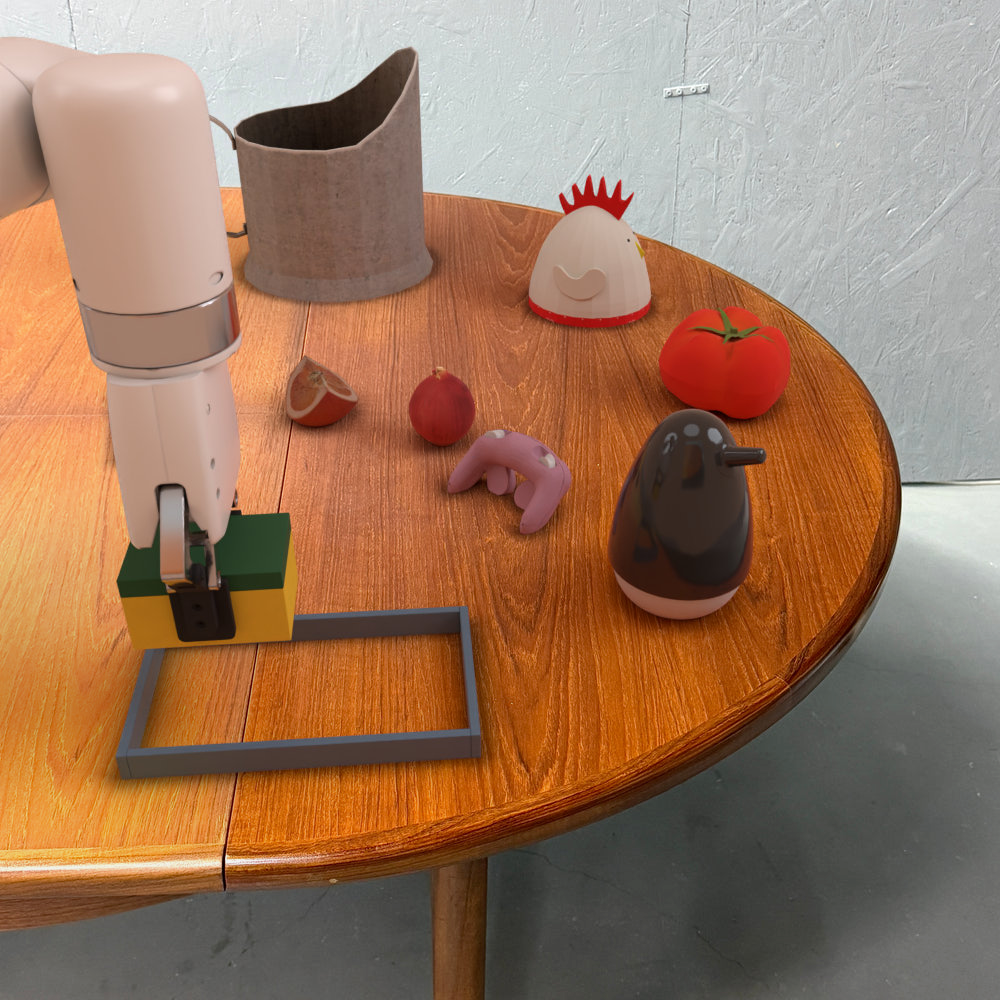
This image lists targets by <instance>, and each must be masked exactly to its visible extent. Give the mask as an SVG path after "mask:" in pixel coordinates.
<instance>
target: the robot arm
mask: <svg viewBox="0 0 1000 1000" xmlns="http://www.w3.org/2000/svg"><path fill="white" fill-rule="evenodd" d="M209 115H210V112H209V106H208V102H207V96H206V92H205V88H204V85H203V83H202V81H201V79H200V77H199V76H198V74H197V73H196V72H195V70H194V69H193V68H192V67H191V66H190V65H189V64H187V63H185V62H183V61H182V60H180V59H179V58H176V57H175V58H174V57H171V56H168V55H164V54H160V53H159V54H158V53H148V52H112V53H101V54H95V53H91V52H86V51H83V50H79V49H75V48H72V47H68V46H65V45H61V44H58V43H57V44H56V43H53V42H49V41H47V40H46V41H45V40H41V39H37V38H33V37H27V36H0V221H2V220H4V219H5V218H7V217H10V216H12V215H14V214H16V213H18V212H21V211H22V210H25V209H28V208H31V207H34V206H37V205H40V204H44V203H45V202H48V201H51V200H53V202H54V206H55V211H56V215H57V219H58V223H59V228H60V233H61V236H62V240H63V244H64V245H63V246H64V249H65V253H66V257H67V262H68V267H69V270H70V274H71V279H72V283H73V287H74V293H75V297H76V301H77V305H78V309H79V313H80V317H81V321H82V326H83V330H84V335H85V338H86V343H87V347H88V351H89V355H90V359H91V362H92V364H93V365H94V366H95V367H96V368H98V369H99V370H100V371H103V372H104V373H106V378H105V380H106V398H107V400H106V401H107V411H108V419H109V427H110V428H109V429H110V435H111V437H110V438H111V442H112V449H113V456H114V462H115V467H116V474H117V478H118V484H119V490H120V497H121V501H122V507H123V513H124V517H125V522H126V528H127V533H128V538H129V542H130V541H131V543H132V544H133V545H134V546H135V547H136V548H137V549H144V548H149V547H152V544H153V541H154V538H155V534H156V531H157V528H158V525H159V524H160V575H161V580H162V582H163V583H165V584H166V590H167V592H168V595H169V599H170V604H171V608H172V613H173V618H174V622H175V627H176V631H177V636H178V639H179V640H180V641H182V642H198V641H214V640H230V639H233V638H234V637H235V634H236V624H235V618H234V613H233V607H232V602H231V596H230V591H229V585H228V580H227V578H221V573H220V562H219V551H218V541H219V540H220V539H221V538H222V537H223V536H224V534H225V532H226V529H227V525H228V521H229V516H230V515H243V514H242V513H243V512H242V509H237V508H238V506H239V495H238V494H239V493H238V489H237V483H238V479H239V475H240V467H241V456H242V455H241V439H240V427H239V421H238V414H237V408H236V407H237V406H236V402H235V396H234V390H233V384H232V378H231V373H230V367H229V363H228V359H230V358H231V357H232V356H233V355H234V354H236V353H237V351H238V350H239V349H240V348H241V346H242V342H243V335H242V327H241V322H240V315H239V309H238V308H239V307H238V302H237V295H236V287H235V281H234V276H233V268H232V262H231V255H230V248H229V241H228V240H229V239H228V237H227V233H226V231H227V227H226V221H225V213H224V206H223V200H222V199H223V198H222V194H221V193H222V192H221V187H220V178H219V173H218V166H217V161H216V160H217V159H216V153H215V146H214V145H215V144H214V140H213V139H214V138H213V132H212V125H211V121H210V118H209ZM189 523H196V524H197V525H198V526H199V528H200V529H201V530H205V531H198V532H189ZM198 546H204V551H205V562H206V567H205V566H204V565H202V564H201V563H193V561H192V560H191V558H190V548H189V547H198Z"/></svg>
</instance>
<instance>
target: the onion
mask: <svg viewBox="0 0 1000 1000" xmlns="http://www.w3.org/2000/svg"><path fill="white" fill-rule="evenodd" d="M476 410H477V409H476V402H475V400H474V397H473V395H472V392H471V390H470V388H469V387H468V386H467V384H466V383H465V382H464V381H463V380H462V379H460V378H459V377H457V376H456V375H454V374H452V373H450V372H449V371H448V370H447V369H446V368H444V367H443V366H436V367H435V368H433V369H431V375H429V376H427V377H425V378H424V379H423V380H422V381H421V382H419V383H418V385H417V386H416V387H415V389H414V391H413V393H412V395H411V396H410V400H409V403H408V417H409V420H410V423H411V426H412V427H413V430H415V432H416V433H417V434H418V435H420V437H422V438H423V439H424V440H426V441H428V442H430V443H432V444H433V445H436V446H438V447H449V446H452V445H453V444H455V443H456V442H458V441H460V440H462V439H463V438H464V437H465V436H466V435H467V434H468V433H469V431H470V429H471V427H472V426H473V423H474V421H475V417H476Z"/></svg>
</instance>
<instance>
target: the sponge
mask: <svg viewBox="0 0 1000 1000" xmlns="http://www.w3.org/2000/svg"><path fill="white" fill-rule="evenodd" d="M198 531H205V530H201V529H200V528H199V526H198V525H197V524H196V523H189V532H198ZM189 548H190V558H191V560H192V561H193V563H201V564H202V565H204V566H205V567H206V562H205V551H204V546H198V547H189ZM218 551H219V562H220V573H221V578H227V580H228V585H229V591H230V596H231V602H232V607H233V613H234V618H235V624H236V634H235V637H234V638H233V639H230V640H214V641H198V642H182V641H180V640H179V639H178V636H177V631H176V627H175V622H174V618H173V613H172V608H171V604H170V599H169V595H168V592H167V590H166V584H165V583H163V582H162V580H161V575H160V524H159V525H158V528H157V531H156V534H155V538H154V541H153V544H152V547H149V548H144V549H137V548H136V547H135V546H134V545H133V544H132V543H131V541H130V540H129V543H128V546H127V549H126V551H125V554H124V558H123V561H122V562H121V563H122V564H121V566H120V569H119V572H118V575H117V578H116V580H115V581H116V582H115V583H116V586H117V590H118V594H119V598H120V603H121V606H122V610H123V614H124V619H125V622H126V626H127V630H128V634H129V637H130V642H131V646H132V649H133V650H134V651H137V650H138V651H140V650H146V649H156V648H165V649H173V648H172V647H183V648H190V647H189V646H201V647H206V646H205V645H220V646H223V645H222V644H238V643H254V642H271V641H287V640H291V637H292V628H293V619H294V615H295V611H296V610H295V609H296V600H297V592H298V583H299V574H298V567H297V560H296V552H295V545H294V537H293V530H292V523H291V515H290V512H288V511H287V512H269V513H251V514H250V513H249V514H242V515H230V516H229V521H228V525H227V529H226V532H225V534H224V536H223V537H222V538H221V539H220V540H219V541H218Z"/></svg>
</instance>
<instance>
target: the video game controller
mask: <svg viewBox="0 0 1000 1000" xmlns="http://www.w3.org/2000/svg"><path fill="white" fill-rule="evenodd" d="M516 473H517V474H519V475H521V476H523V477H524V478H525V479H526V480H524V481H522V482H520V483H519V485H518V486H517V477H516ZM485 474H486V485H487V489H488V491H489V492H490V493H492V494H494V495H497V496H504V495H508V494H512V493H514V494H513V500H514V503H515V505H516V507H518V508H520V509H522V510H524V512H523V514H522V516H521V518H520V521H519V532H520V534H521V535H525V536H526V535H530V534H534V533H536V532H538V531H540V530H541V529H542V528H544V526H546V524H547V523H548V522H549V521H550V519H551V518H552V516H553V515H554V514H555V512H556V510H557V507H558V506H559V504H560V502H561V500H562V498H563V497H564V496H566V495H567V493H568V492H569V490H570V488H571V485H572V473H571V470H570V469H569V466H568V465H567V463H566V462H565V461H563V460H562V459H560V458H559V457H558V456H557V454H556V453H555V452H554V451H553V450H552V449H551V448H550V447H548V446H547V444H545V443H543V441H540V440H538V439H537V438H535V437H534V436H531V435H528V434H525V433H522V432H518V431H512V430H508V429H493V430H486V431H485V433H484V434H482V435H480V436H478V437H477V439H475V440H474V442H473V443H472V444H471V446H470V447H469V449H468V450H467V451H466V453H465V454H464V455H463V457H462V458H461V459H460V461H459V463H457V464H456V466H455V467H454V469H453V470H452V472H451V474H450V475H449V479H448V481H447V492H448V493H449V494H451V495H452V494H457V493H460V492H464V491H467V490H469V489H471V488H472V487H474V486H475V485H476V484H477V482H479V481H480V479H481V478H482V477H483V476H484V475H485ZM516 486H517V487H516ZM515 488H516V489H515Z"/></svg>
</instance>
